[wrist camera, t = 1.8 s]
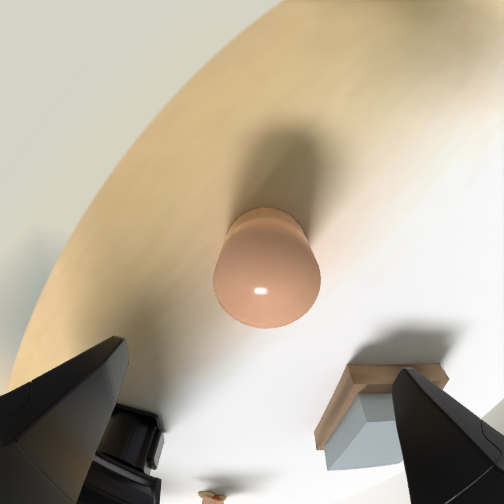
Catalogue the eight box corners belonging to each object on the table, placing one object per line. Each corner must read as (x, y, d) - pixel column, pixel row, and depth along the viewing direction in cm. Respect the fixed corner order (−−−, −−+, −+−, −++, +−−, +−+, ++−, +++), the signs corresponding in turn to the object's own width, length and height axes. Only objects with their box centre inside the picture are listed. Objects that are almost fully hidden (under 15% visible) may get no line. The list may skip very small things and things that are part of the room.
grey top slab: (323, 445, 23) (327, 470, 20) (357, 393, 20) (366, 422, 17) (392, 441, 23) (399, 463, 20) (432, 391, 20) (444, 414, 17)
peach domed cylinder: (221, 277, 19) (209, 321, 14) (230, 202, 17) (218, 225, 13) (297, 287, 19) (307, 333, 15) (312, 214, 17) (331, 241, 13)
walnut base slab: (313, 427, 26) (316, 450, 23) (345, 359, 22) (353, 384, 19) (395, 423, 26) (402, 442, 23) (436, 358, 22) (449, 379, 20)
